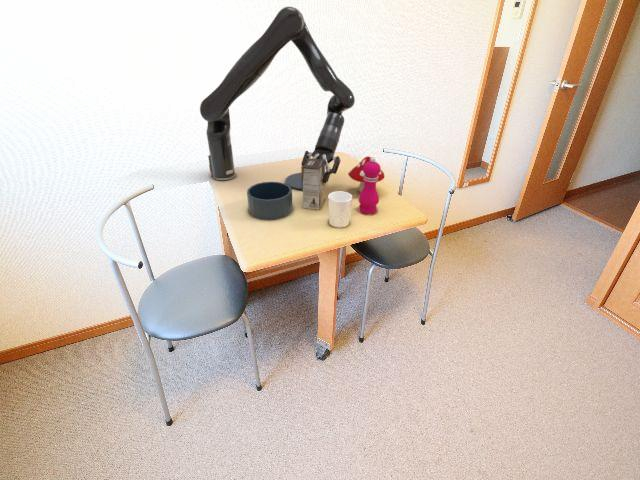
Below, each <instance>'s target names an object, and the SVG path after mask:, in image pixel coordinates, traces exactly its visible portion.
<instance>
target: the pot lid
mask: <svg viewBox="0 0 640 480" xmlns="http://www.w3.org/2000/svg"><path fill="white" fill-rule="evenodd" d="M300 168H301V169H300V171H301V172H296V173H295V172H294V173H292V174H289V175H288V176H287V177H285V180H284V184H287V185H289V186H290V187H291V189H296V190H303V166H302V165H301V166H300Z"/></svg>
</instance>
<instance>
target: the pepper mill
mask: <svg viewBox="0 0 640 480" xmlns="http://www.w3.org/2000/svg"><path fill="white" fill-rule="evenodd" d="M381 170H382V167H381V165H380V164H379V162H377V161H376V158H375V157H374V156H372V157H371V158H370V161H369V162H367V163H365V164H364V166H363V172H364V174H365V175H364V180H365V184H364V188H363V190H362V192H359V196H358V203H359V206H358V207H359V208H358V211H359V212H360V213H362V214H364V215H373V214H376V213H377V209H378V206H377V205H378V204H379V202H380V195H379V192H378V190H377V183H378V182H377V181H378V174H379V173H380V171H381Z"/></svg>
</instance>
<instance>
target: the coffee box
mask: <svg viewBox="0 0 640 480" xmlns="http://www.w3.org/2000/svg"><path fill="white" fill-rule="evenodd" d="M325 172H326V167H325V160H323V159H312V158H309V159H308V160H307V162H306V163H305V165H304V166H303V189H302V208H303V209H310V210H320V209H321V207H322V204H323V202H324V200H325V183H323V177H324V174H325Z"/></svg>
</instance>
